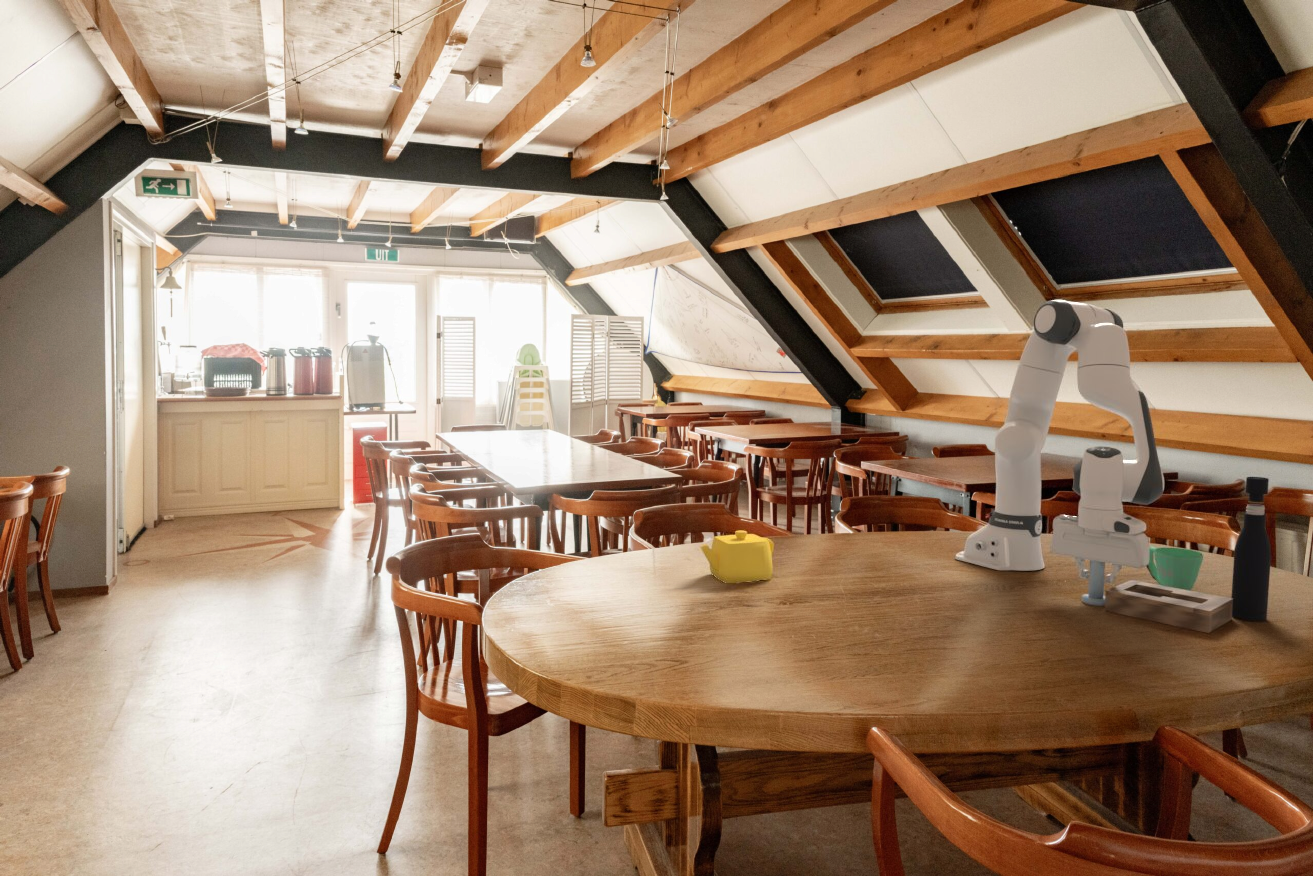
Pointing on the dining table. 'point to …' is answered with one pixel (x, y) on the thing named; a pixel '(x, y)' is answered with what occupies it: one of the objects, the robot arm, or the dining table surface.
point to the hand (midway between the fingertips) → (1096, 580)
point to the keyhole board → (1169, 605)
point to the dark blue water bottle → (1252, 558)
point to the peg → (1095, 584)
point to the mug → (1175, 567)
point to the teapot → (740, 557)
